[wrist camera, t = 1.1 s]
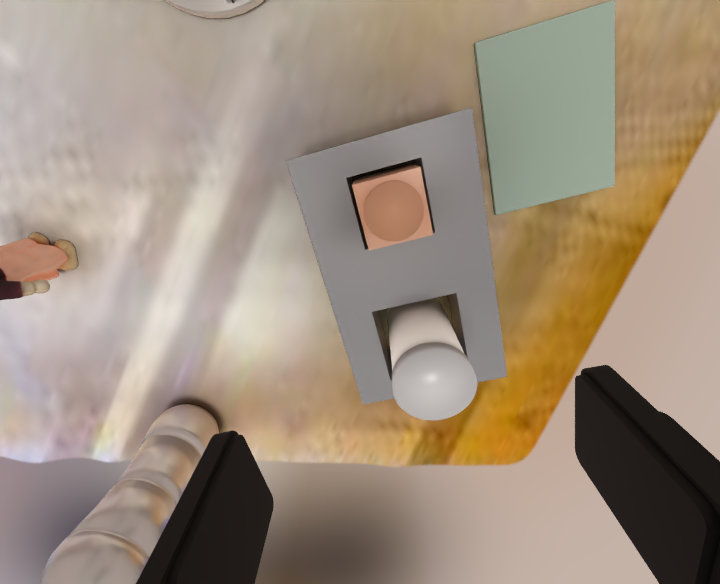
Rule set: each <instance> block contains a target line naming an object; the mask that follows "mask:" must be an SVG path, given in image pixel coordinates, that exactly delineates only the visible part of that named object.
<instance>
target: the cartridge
mask: <svg viewBox="0 0 720 584" xmlns="http://www.w3.org/2000/svg"><path fill="white" fill-rule="evenodd" d="M387 321H388V331H389V341H390V351H391V362H392V388H393V395H394V398H395V400H396V402H397V404H398V405H399V406H400V407H401V408H402V409H403V410H404V411H405V412H406V413H408V414H410V415H411V416H414V417H416V418H419V419H424V420H441V419H446V418H449V417H452V416H454V415H456V414H458V413H460V412H461V411H462V410H464V409H465V408H466V407H467V406H468V405H469V404H470V402H471V401H472V399H473V398H474V396H475V393H476V389H477V378H476V374H475V372H474V369H473V367H472V365H471V363H470V361H469V359H468V358H467V356H466V355H465V354H464V352H463V349H462V347H461V345H460V343H459V341H458V339H457V336H456V334H455V332H454V330H453V328H452V326H451V323H450V321H449V319H448V317H447V315H446V312H445V310H444V308H443V306H442V304H441V302H440V299H439V298H438V297H436V298H432V299H427V300H423V301H418V302H414V303H409V304H405V305H401V306H396V307H392V308H387Z"/></svg>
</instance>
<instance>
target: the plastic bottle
mask: <svg viewBox="0 0 720 584" xmlns="http://www.w3.org/2000/svg"><path fill="white" fill-rule="evenodd" d="M218 433H219V429H218V425H217V422H216V420H215V419H214V417H213V416H212V415H211V414H210V413H209V412H208V411H206V410H205V409H203V408H201V407H199V406H196V405H191V404H183V405H178V406H174V407H171V408H169V409H167V410H166V411H165V412H164V413H162V414H161V415H160V416H159V417H158V418H157V419H156V420H155V421H154V422H153V424H152V425H151V427H150V429H149V431H148V432H147V434H146V436H145V438H144V440H143V443H142V445H141V447H140V449H139V450H138V452H137V453H136V455H135V456H134V458H133V460H132V461H131V463H130V465H129V466H128V468H127V469H126V471H125V472H124V474H123V475H122V476H121V477H120V479H119V480H118V481H117V482H116V484H115V486H114V487H112V488H111V490H110V491H109V492H108V493H107V495H106V496H105V497H104V498H103V499H102V500H101V502H100V503H99V504H98V505H97V506H96V508H95V509H94V510H93V511H92V512H91V513H90V514H89V515H88V516H87V517H86V518H85V519H84V520H83V521H82V522H81V523H80V524H79V525H78V526H77V527H76V528H75V529H74V530H73V531H72V533H70V534H69V536H68V537H67V538H66V539H65V540H64V541H63V542H62V543H61V544H60V545H59V547H58V548H57V549H56V550H55V551H54V552H53V553H52V554H51V556H50V558H49V560H48V562H47V564H46V567H45V569H44V571H43V573H42V575H41V579H40V583H39V584H136V582H137V580H138V579H139V577H140V575H141V573H142V571H143V569H144V567H145V565H146V563H147V561H148V559H149V557H150V555H151V553H152V551H153V550H154V548H155V546H156V544H157V542H158V540H159V538H160V536H161V534H162V532H163V530H164V528H165V526H166V524H167V522H168V521H169V519H170V517H171V515H172V513H173V511H174V509H175V507H176V505H177V503H178V501H179V499H180V497H181V495H182V494H183V492H184V490H185V488H186V486H187V484H188V482H189V480H190V478H191V476H192V474H193V472H194V470H195V468H196V466H197V465H198V463H199V461H200V459H201V457H202V455H203V453H204V451H205V449H206V447H207V445H208V443H209V441H210V439H211V438H212V436H213V435H215V434H218Z"/></svg>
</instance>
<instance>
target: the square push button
mask: <svg viewBox="0 0 720 584" xmlns="http://www.w3.org/2000/svg"><path fill="white" fill-rule="evenodd" d="M352 187H353V191H354V195H355V199H356V203H357V207H358V211H359V214H360V218H361V222H362V226H363V230H364V234H365V238H366V241H367V245H368V249H369V251H370V250H374V249H378V248H382V247H386V246H390V245H394V244H398V243H402V242H406V241H410V240H414V239H418V238H423V237H427V236H431V235H433V231H432V225H431V220H430V215H429V209H428V204H427V199H426V193H425V188H424V183H423V178H422V172H421V167H420V166H417V165H414V164H408V165H405V166H401V167H397V168H394V169H390V170H386V171H383V172H379V173H375V174H372V175H368V176H364V177H361V178H357V179H355V181H354V182H353V184H352Z"/></svg>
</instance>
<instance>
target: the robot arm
mask: <svg viewBox="0 0 720 584" xmlns="http://www.w3.org/2000/svg"><path fill="white" fill-rule="evenodd" d="M165 1H166V2H168V3H169V4H171V5H172V6H174V7H175V8H178V9H180V10H182V11H185V12H187V13H189V14H192V15H195V16H200V17H206V18H229V17H232V16H236V15H240V14H243V13H246V12H247V11H249V10H251V9H253V8H254V7H256V6H258V5H260V4H261V3H262V2H263V1H264V0H237V1H236V2H235V3H232V0H165ZM575 451H576V455H577V458H578V460H579V462H580V464H581V466H582V467H583V469H584V470H585V471H586V473H587V475H588V476H589V478H590V479H591V481H592V482H593V484H594V485H595V486H596V488H597V490H598V491H599V493H600V494H601V496H602V497H603V498H604V500H605V502H606V503H607V505H608V506H609V508H610V509H611V511H612V512H613V514H614V515H615V517H616V519H617V520H618V522H619V523H620V525H621V526H622V528H623V529H624V530H625V532H626V534H627V535H628V537H629V538H630V540H631V541H632V543H633V544H634V546H635V547H636V549H637V550H638V552H639V553H640V555H641V556H642V558H643V559H644V561H645V562H646V564H647V565H648V567H649V569H650V570H651V571H652V573H653V575H654V576H655V578H656V579H657V581H658V582H659V584H720V461H719V460H717V459H716V458H715V457H714V456H713V455H712V454H711V453H710V452H708V450H706V449H705V448H704V447H703V446H702V445H701V444H700V443H699V442H698V441H697V440H695V439H694V438H693V437H692V436H691V435H690V434H689V433H688V432H687V431H686V430H685V429H683V428H682V427H681V426H680V425H679V424H678V423H677V422H676V421H675V420H674V419H672V418H671V417H670V416H668V415H667V414H665V413H663V412H659V411H657V410H656V409H655V408H654V407H653V406H652V405H651V404H650V403H649V402H648V401H647V400H646V399H645V398H643V397H642V396H641V395H640V394H639V393H638V392H637V391H636V390H635V389H634V388H633V387H632V386H631V385H630V384H628V383H627V382H626V381H625V380H624V379H623V378H622V377H621V376H620V375H619V374H618V373H617V372H616V371H614V370H613V369H612V368H611V367H610V366H608V365H603V366H597V367H591V368H585V369H583V370H582V371H581V375H579V376H576V378H575ZM272 511H273V497H272V494H271V492H270V490H269V488H268V486H267V484H266V482H265V480H264V478H263V476H262V474H261V472H260V469H259V468H258V465H257V463H256V461H255V459H254V457H253V455H252V453H251V451H250V449H249V447H248V445H247V443H246V441H245V438H244V437H243V436H242V435H238V433H237V432H236V431H229V432H223V433H218V434H215V435H213V436H212V438H211V439H210V441H209V443H208V445H207V447H206V449H205V451H204V453H203V455H202V457H201V459H200V461H199V463H198V465H197V466H196V468H195V470H194V472H193V474H192V476H191V478H190V480H189V482H188V484H187V486H186V488H185V490H184V492H183V494H182V495H181V497H180V499H179V501H178V503H177V505H176V507H175V509H174V511H173V513H172V515H171V517H170V519H169V521H168V522H167V524H166V526H165V528H164V530H163V532H162V534H161V536H160V538H159V540H158V542H157V544H156V546H155V548H154V550H153V551H152V553H151V555H150V557H149V559H148V561H147V563H146V565H145V567H144V569H143V571H142V573H141V575H140V577H139V579H138V580H137V582H136V584H254V583H255V579H256V575H257V571H258V567H259V563H260V559H261V555H262V551H263V547H264V543H265V539H266V535H267V531H268V527H269V523H270V519H271V515H272Z"/></svg>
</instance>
